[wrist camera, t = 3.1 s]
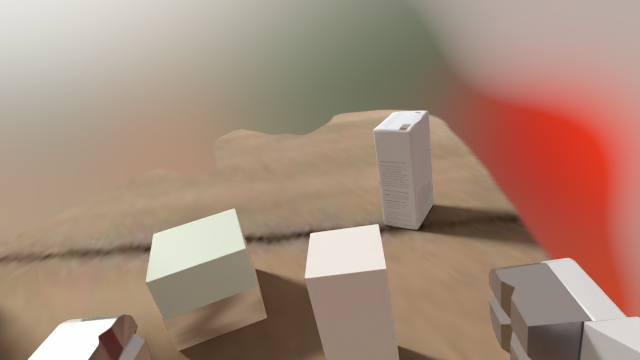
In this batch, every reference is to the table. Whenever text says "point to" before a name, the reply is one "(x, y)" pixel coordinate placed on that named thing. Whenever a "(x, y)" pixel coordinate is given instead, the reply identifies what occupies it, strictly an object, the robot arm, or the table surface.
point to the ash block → (217, 317)
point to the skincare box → (404, 168)
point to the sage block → (199, 264)
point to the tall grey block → (351, 294)
